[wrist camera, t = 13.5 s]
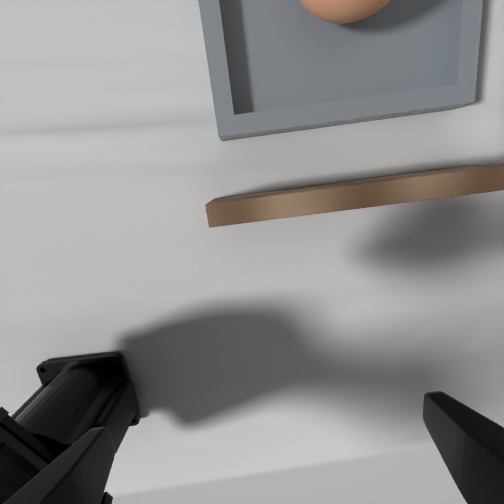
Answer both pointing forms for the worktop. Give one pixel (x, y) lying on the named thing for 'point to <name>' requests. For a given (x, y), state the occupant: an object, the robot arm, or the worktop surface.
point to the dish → (336, 63)
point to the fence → (355, 194)
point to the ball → (343, 9)
